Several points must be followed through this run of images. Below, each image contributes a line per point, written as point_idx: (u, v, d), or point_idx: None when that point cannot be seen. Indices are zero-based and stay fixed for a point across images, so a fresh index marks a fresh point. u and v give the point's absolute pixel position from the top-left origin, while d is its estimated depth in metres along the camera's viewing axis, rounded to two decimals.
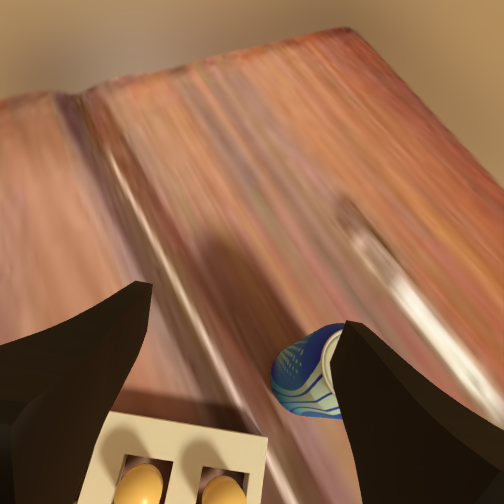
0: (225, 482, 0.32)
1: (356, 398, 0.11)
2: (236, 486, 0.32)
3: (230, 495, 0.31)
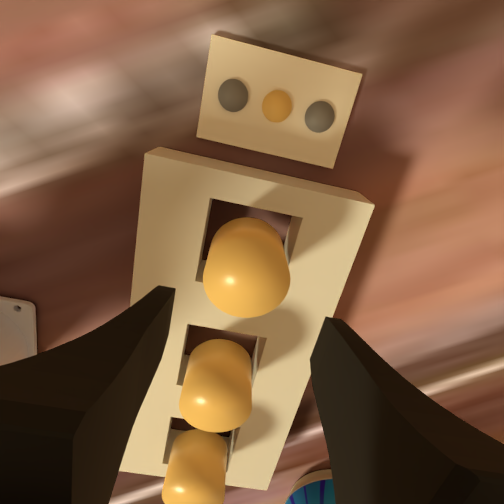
0: (223, 495, 0.22)
1: (332, 394, 0.11)
2: None
3: (207, 500, 0.22)
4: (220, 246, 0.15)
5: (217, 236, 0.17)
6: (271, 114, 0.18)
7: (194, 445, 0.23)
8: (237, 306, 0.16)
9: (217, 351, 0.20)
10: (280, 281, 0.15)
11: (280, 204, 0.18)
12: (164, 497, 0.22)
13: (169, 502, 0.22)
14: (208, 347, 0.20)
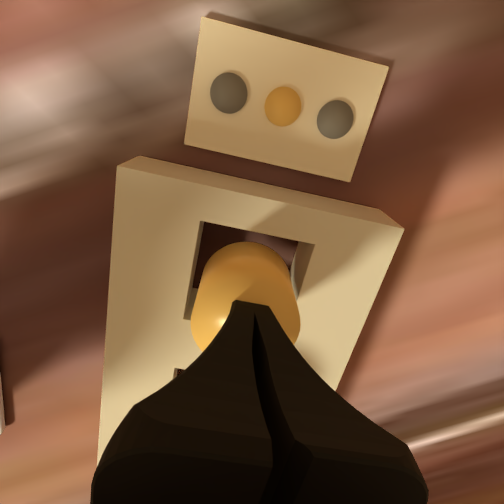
0: None
1: None
2: None
3: None
4: (213, 284, 0.12)
5: (209, 266, 0.14)
6: (276, 116, 0.15)
7: None
8: None
9: None
10: (287, 326, 0.12)
11: (287, 228, 0.14)
12: None
13: None
14: None
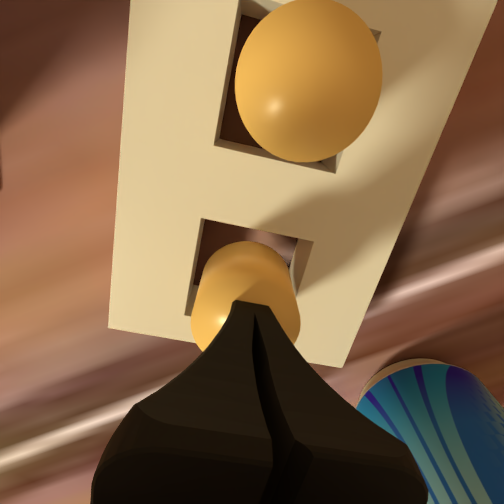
0: (299, 325, 0.12)
1: None
2: None
3: None
4: None
5: None
6: None
7: (243, 252, 0.13)
8: None
9: None
10: None
11: None
12: (195, 327, 0.12)
13: (203, 339, 0.12)
14: None
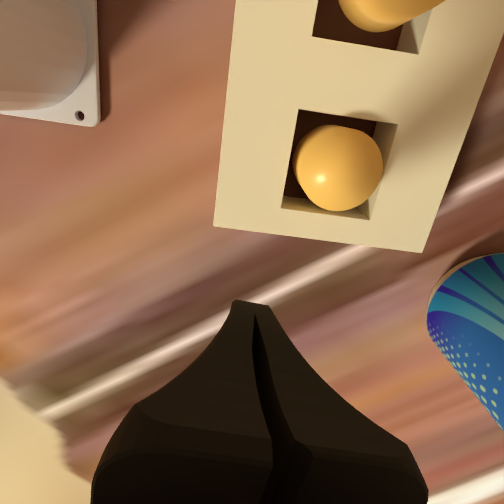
0: (381, 169, 0.17)
1: None
2: (372, 190, 0.17)
3: (359, 179, 0.17)
4: None
5: None
6: None
7: (330, 126, 0.18)
8: None
9: None
10: None
11: None
12: (304, 175, 0.17)
13: (309, 186, 0.17)
14: None
